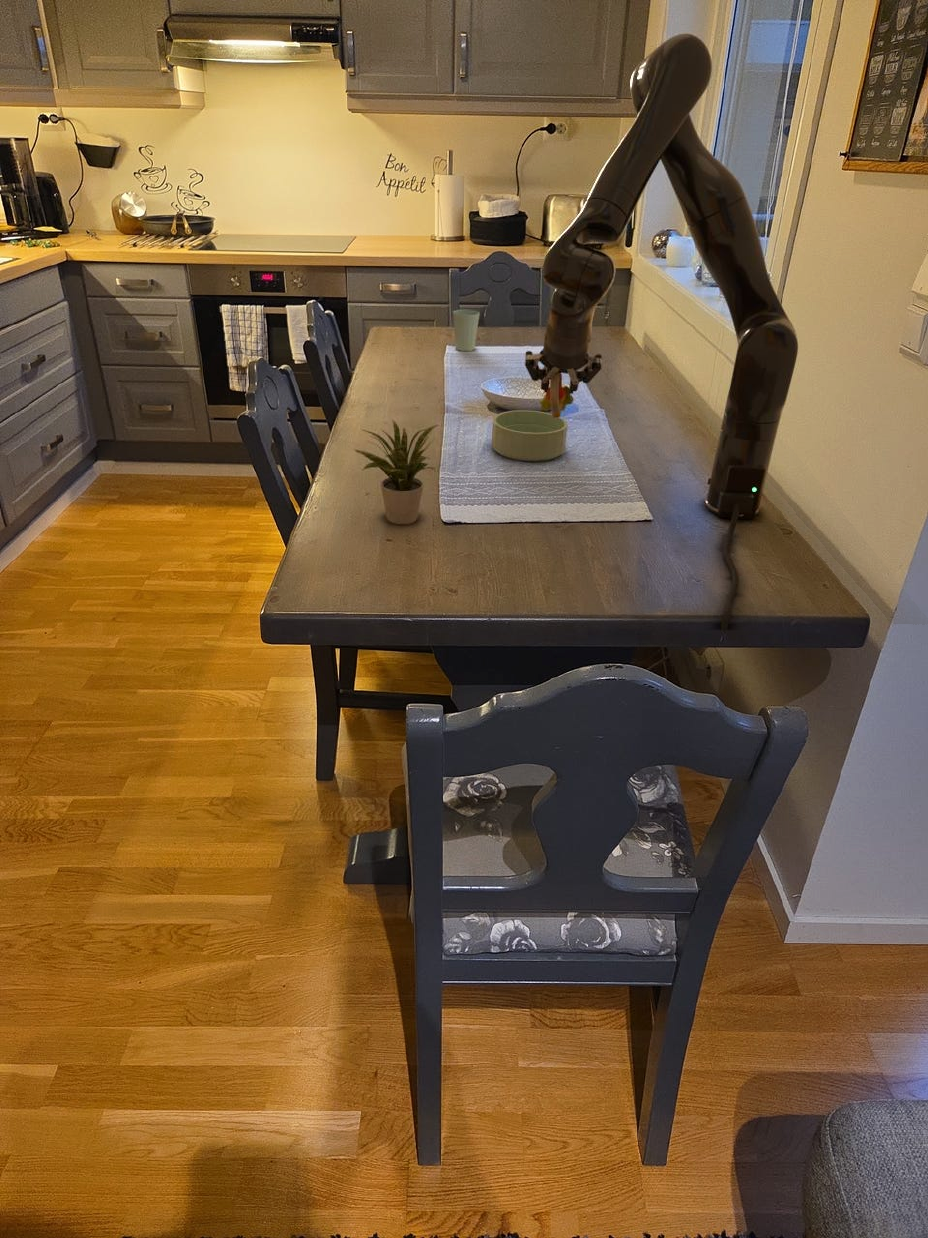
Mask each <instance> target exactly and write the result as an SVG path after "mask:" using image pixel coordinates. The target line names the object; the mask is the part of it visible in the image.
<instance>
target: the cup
mask: <svg viewBox="0 0 928 1238" xmlns="http://www.w3.org/2000/svg"><path fill="white" fill-rule="evenodd" d="M452 314H453V329H454V331H453V333H454V343H455V350H457V351H461V352H471V351H474V350H475V347H476V340H477V333H478V325H479V320H480V312H479V311H477V310H472V309H456V310H454V311H452Z"/></svg>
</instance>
